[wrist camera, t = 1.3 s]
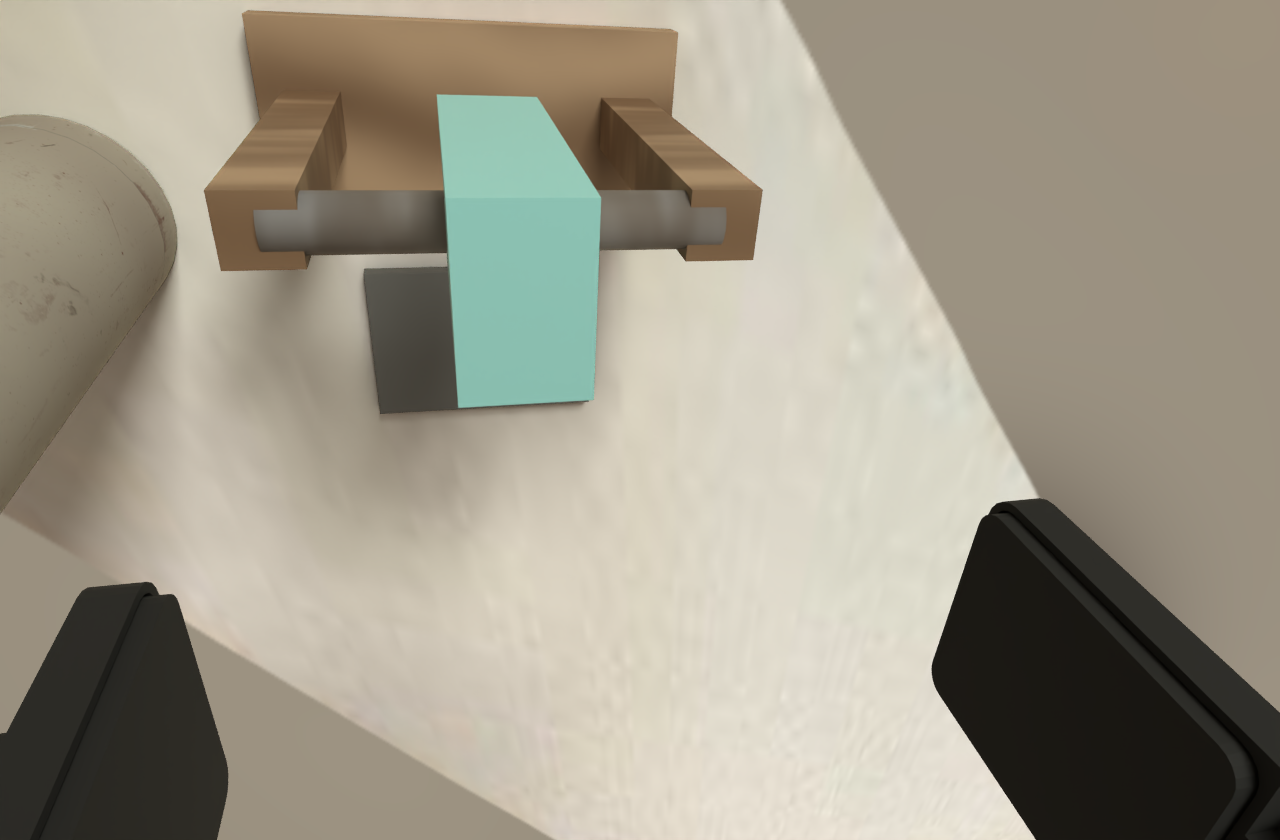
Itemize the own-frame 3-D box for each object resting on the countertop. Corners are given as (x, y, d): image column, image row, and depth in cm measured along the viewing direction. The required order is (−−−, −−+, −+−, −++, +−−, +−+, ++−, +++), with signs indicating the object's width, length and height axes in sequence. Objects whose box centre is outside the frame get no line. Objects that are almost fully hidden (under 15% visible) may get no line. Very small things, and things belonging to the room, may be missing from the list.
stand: (247, 10, 30) (126, 77, 18) (670, 29, 33) (814, 95, 21) (279, 200, 33) (196, 366, 21) (658, 199, 37) (775, 340, 25)
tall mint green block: (436, 94, 24) (445, 198, 15) (537, 96, 25) (601, 197, 16) (445, 243, 27) (458, 408, 18) (537, 241, 27) (594, 399, 18)
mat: (364, 268, 36) (363, 273, 35) (590, 263, 38) (592, 268, 37) (380, 407, 39) (380, 413, 39) (586, 395, 41) (588, 401, 41)
